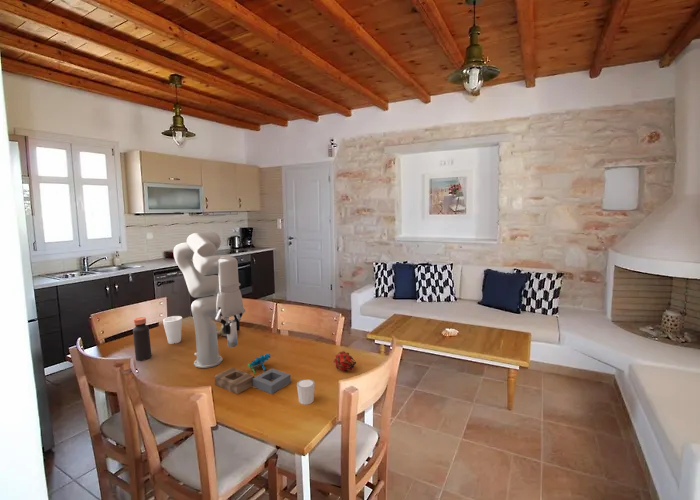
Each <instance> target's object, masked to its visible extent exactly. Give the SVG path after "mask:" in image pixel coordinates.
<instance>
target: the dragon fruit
mask: <svg viewBox="0 0 700 500" xmlns="http://www.w3.org/2000/svg"><path fill="white" fill-rule="evenodd" d="M333 363H335V367H336V368H335V369H337V370H339V369H340V370H341V371H342V372H343V373H349V371H353V370H354V368H355V367H354V366H356V364H357V361H355V360H354V357H353V356H352V355H350V352H346V351H345V350H342V351H339V352H338V353H337V354H336V355H335V358H333ZM348 370H349V371H348Z"/></svg>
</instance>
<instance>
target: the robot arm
mask: <svg viewBox="0 0 700 500" xmlns="http://www.w3.org/2000/svg"><path fill="white" fill-rule="evenodd" d="M221 242H222V240H221V236H220V235H219V233H217V232H216V231H204V232H203V231H202V232H201V231H200V232H194V233H190V235H188V237H187V238H186V242H181V243H178V244H176V245H175V246H174V247H173V250H172V253H173V258H174V261H175V263H176V265H177V266H178V269H179V270H180V272H182V274H183V275H182V276H183V277H184V281H185V283H186V286H187V290H188V293H189V295H190V296H191V297H192V298H195V300H194V301H192V303H191V305H190V310H191V315H192V317H193V324H194V333H195V345H196V352H194V356H196V359H195V360H194V361H193V365H194V367H196V368H198V369H209V368H214V367H216V366H218V365H220V364H221V363H222V362H223V357H222V356H221V355H220V353H219V341H218V338H219V337H217V331H218V326H217V324H216V322H215V321H217V322H219V323H221V325H223V330H224V333H225V334H228V335H229V334H230V325H229V324H228V322H229V320H230V317H233V320H236V322H237V332H240V329H241V327H240V326H241V325H240V321H241V320H242V319H241V318H242V316H243V315H244V314H245V313H246V309H245V308H244V302H243V301H244V300H243V295H242V292H241V289H240V286H242V285H241V283H240V282H239V268H238V267H239V265H238V259H237V258H236V257H233V256H232V255H230V254H216V253H217V252H218V250H219V248H220V246H221ZM196 298H197V299H196ZM213 317H215V318H214V320H215V321H214V320H212V318H213Z"/></svg>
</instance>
